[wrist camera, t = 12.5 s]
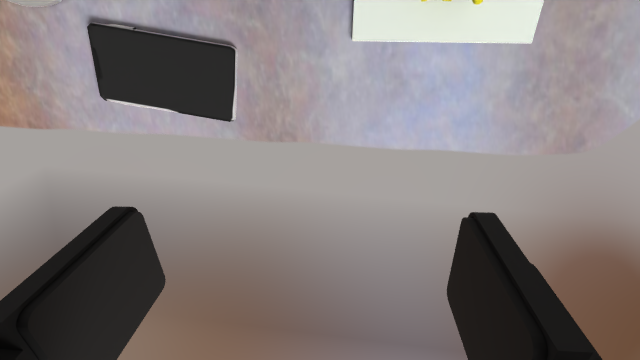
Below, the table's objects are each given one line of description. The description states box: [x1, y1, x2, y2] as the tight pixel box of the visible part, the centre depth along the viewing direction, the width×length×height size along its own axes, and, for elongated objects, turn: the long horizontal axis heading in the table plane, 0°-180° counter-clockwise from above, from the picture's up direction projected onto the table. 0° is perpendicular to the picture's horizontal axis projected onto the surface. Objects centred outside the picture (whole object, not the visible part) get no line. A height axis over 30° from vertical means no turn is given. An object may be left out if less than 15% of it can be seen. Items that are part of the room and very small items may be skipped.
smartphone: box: [87, 23, 237, 122], centre depth 34 cm, size 8×1×15 cm
